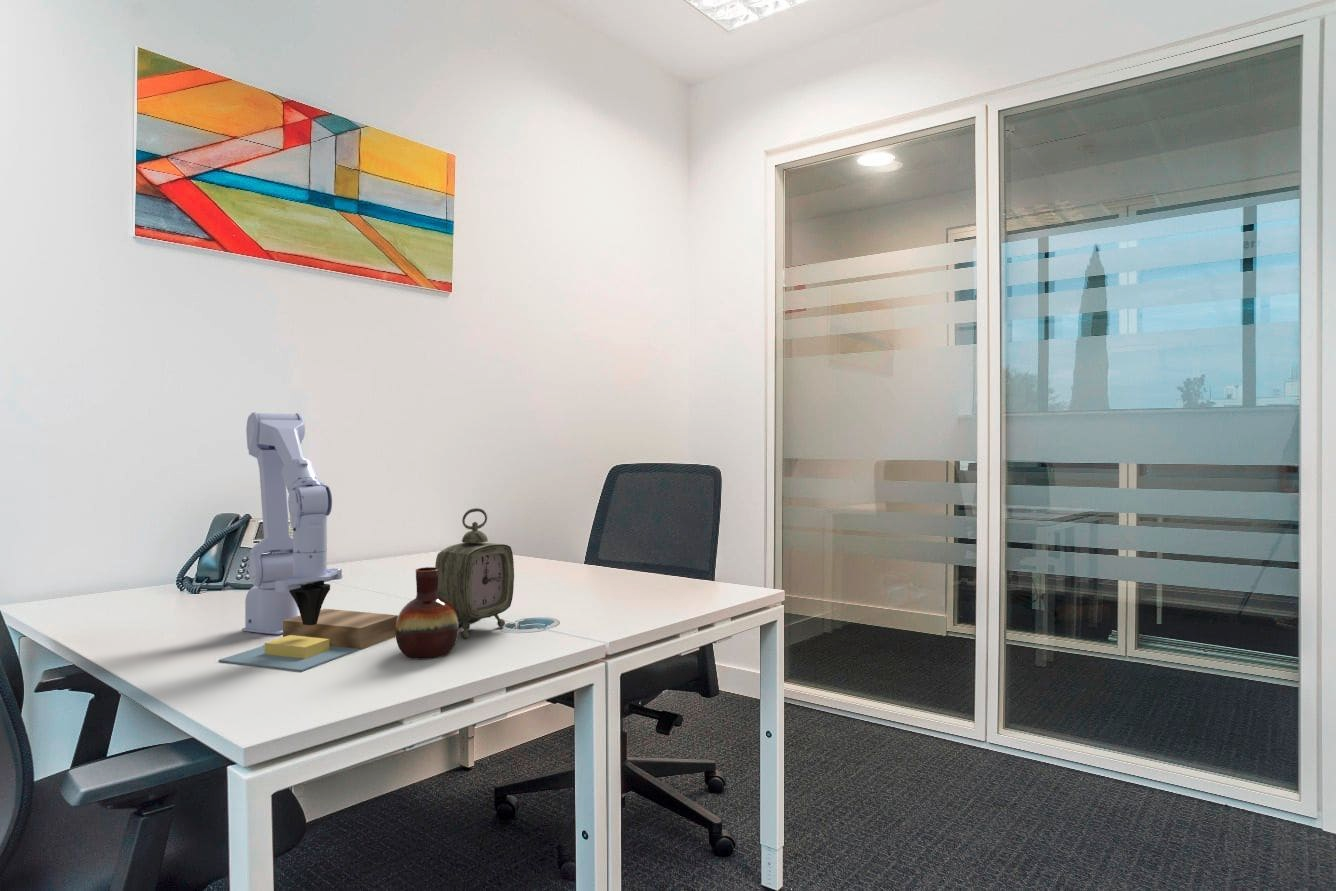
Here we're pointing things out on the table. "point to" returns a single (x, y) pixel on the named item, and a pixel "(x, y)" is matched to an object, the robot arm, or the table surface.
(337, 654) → the mat
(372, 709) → the table surface
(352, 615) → the brown wooden block
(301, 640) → the flat yellow block
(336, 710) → the table surface
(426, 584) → the vase
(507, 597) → the tabletop clock
